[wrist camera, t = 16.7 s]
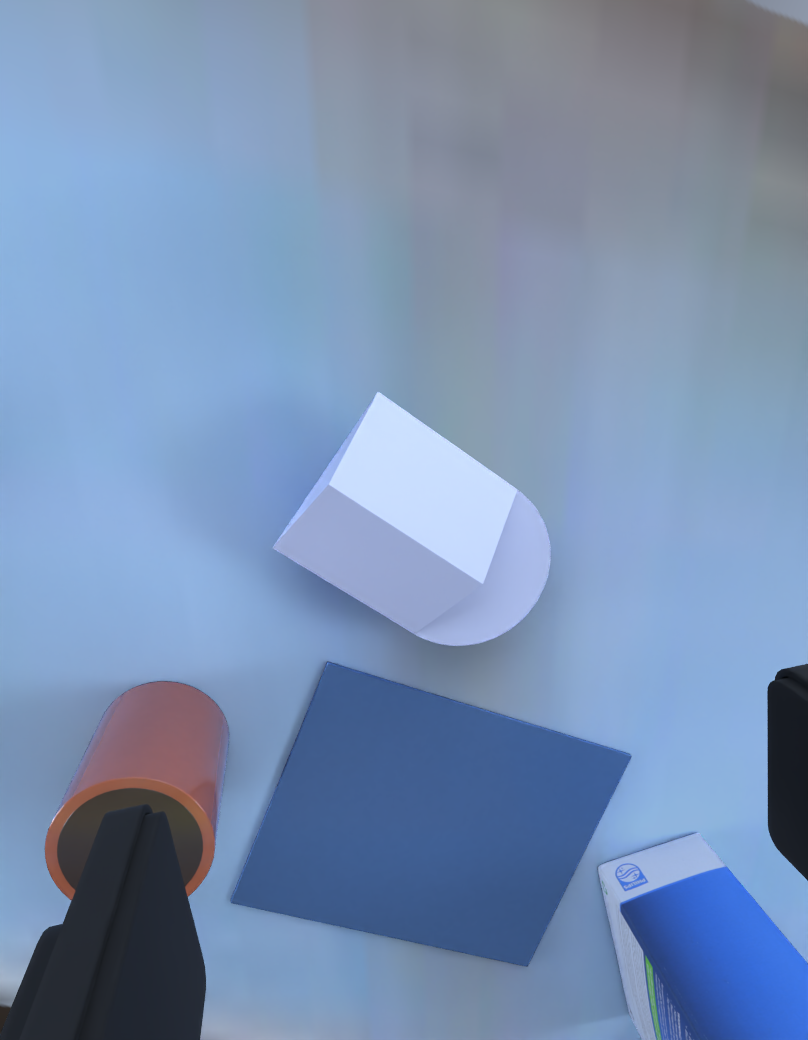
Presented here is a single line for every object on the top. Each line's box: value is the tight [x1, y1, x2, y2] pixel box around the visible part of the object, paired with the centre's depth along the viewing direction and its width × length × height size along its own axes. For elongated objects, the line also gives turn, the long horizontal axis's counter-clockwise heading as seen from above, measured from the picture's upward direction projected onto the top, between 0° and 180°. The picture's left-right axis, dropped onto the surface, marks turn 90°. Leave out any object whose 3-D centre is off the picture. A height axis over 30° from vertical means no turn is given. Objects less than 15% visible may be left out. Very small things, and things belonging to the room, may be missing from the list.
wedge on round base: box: [273, 392, 551, 646], centre depth 36 cm, size 9×7×13 cm
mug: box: [45, 681, 229, 900], centre depth 36 cm, size 10×7×9 cm
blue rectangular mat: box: [231, 662, 631, 966], centre depth 44 cm, size 20×16×1 cm
